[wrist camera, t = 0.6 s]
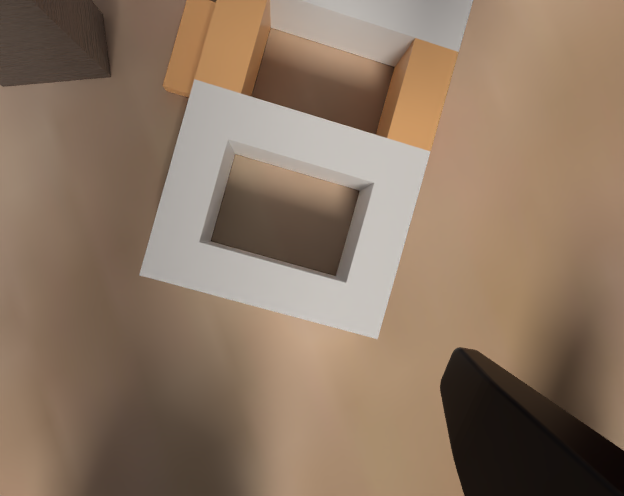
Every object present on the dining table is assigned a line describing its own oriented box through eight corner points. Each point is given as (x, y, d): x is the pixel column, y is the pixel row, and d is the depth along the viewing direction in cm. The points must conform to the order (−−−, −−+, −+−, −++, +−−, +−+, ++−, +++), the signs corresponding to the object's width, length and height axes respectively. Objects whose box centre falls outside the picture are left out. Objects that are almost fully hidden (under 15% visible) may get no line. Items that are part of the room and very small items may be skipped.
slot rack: (362, 324, 24) (377, 339, 20) (119, 258, 23) (91, 262, 19) (477, -82, 24) (511, -137, 20) (238, -166, 23) (232, -239, 19)
